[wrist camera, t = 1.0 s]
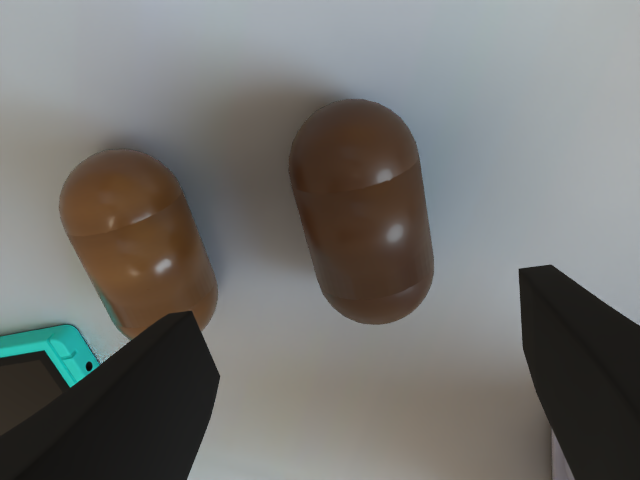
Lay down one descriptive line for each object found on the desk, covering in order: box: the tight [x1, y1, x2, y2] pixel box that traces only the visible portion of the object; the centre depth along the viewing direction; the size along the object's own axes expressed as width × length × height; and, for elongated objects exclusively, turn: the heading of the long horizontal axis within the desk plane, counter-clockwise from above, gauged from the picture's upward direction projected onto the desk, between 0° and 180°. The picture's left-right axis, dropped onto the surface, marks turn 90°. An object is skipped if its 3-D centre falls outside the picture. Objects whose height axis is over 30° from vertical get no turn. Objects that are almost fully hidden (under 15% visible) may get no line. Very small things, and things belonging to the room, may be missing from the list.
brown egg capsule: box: [59, 149, 218, 340], centre depth 17 cm, size 8×4×4 cm, turn 13°
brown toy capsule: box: [288, 99, 434, 325], centre depth 15 cm, size 8×4×4 cm, turn 13°
